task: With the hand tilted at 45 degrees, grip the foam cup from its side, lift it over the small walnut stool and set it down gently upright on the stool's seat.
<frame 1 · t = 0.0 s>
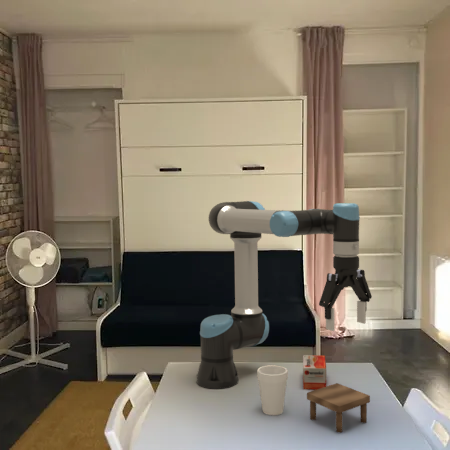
hand: (346, 326, 161), 28 cm above the table, tool pointing down, fingers open, 13 cm apart
foam cup: (272, 411, 169), on the table
stool: (338, 420, 161), on the table
medicine box: (314, 383, 193), on the table
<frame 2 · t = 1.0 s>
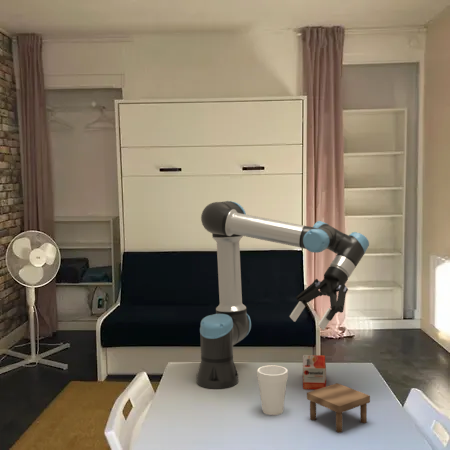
hand: (306, 323, 175), 26 cm above the table, tool tilted 45°, fingers open, 13 cm apart
nothing on the table moved.
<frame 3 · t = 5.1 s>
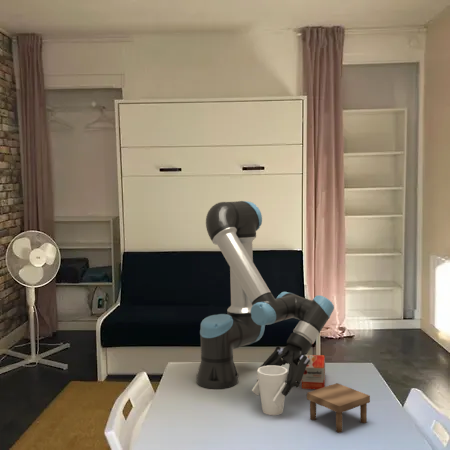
hand: (265, 398, 167), 5 cm above the table, tool tilted 45°, fingers closed on foam cup, 9 cm apart
foam cup: (272, 411, 169), on the table, touching gripper
everything else where it was.
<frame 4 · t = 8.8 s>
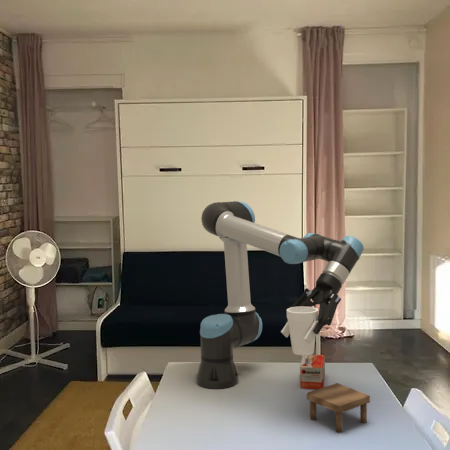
hand: (295, 338, 161), 25 cm above the table, tool tilted 45°, fingers closed on foam cup, 9 cm apart
foam cup: (303, 352, 163), point 20 cm above the table, touching gripper
everything else where it was.
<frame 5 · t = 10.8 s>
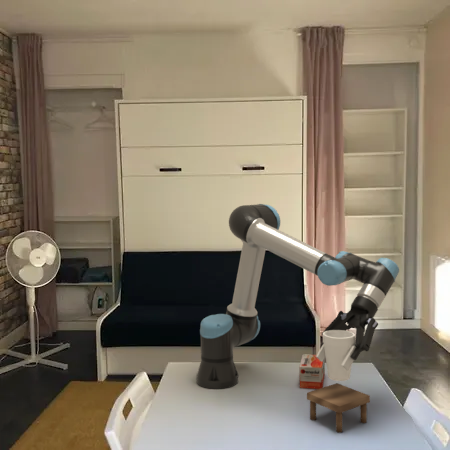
hand: (331, 363, 158), 18 cm above the table, tool tilted 45°, fingers closed on foam cup, 9 cm apart
foam cup: (339, 377, 160), point 13 cm above the table, touching gripper
when the fingers open (14 cm above the table, at t = 12.7 s): foam cup stays where it is, resting on stool.
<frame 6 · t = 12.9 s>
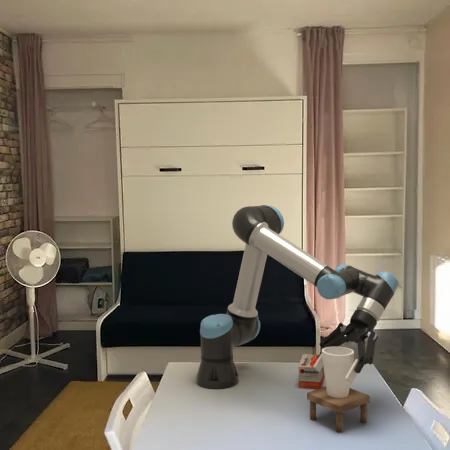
hand: (331, 374, 159), 14 cm above the table, tool tilted 45°, fingers open, 12 cm apart
foam cup: (337, 394, 161), point 8 cm above the table, touching stool
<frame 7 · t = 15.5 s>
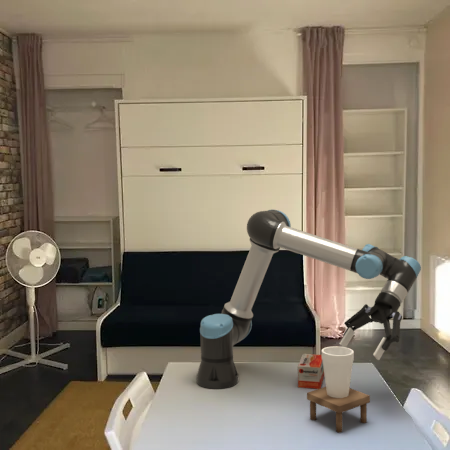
hand: (358, 351, 168), 18 cm above the table, tool tilted 45°, fingers open, 13 cm apart
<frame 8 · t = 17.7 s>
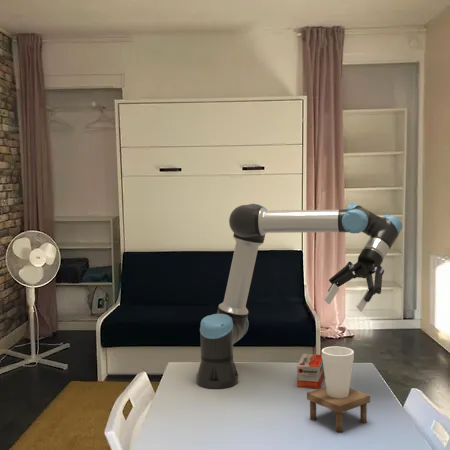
hand: (342, 305, 173), 32 cm above the table, tool tilted 45°, fingers open, 13 cm apart
at the end: foam cup inside the target area on the stool (0.2 cm from its centre), point 7.8 cm above the stool's base; foam cup tilted 0°; the gripper is holding nothing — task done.
